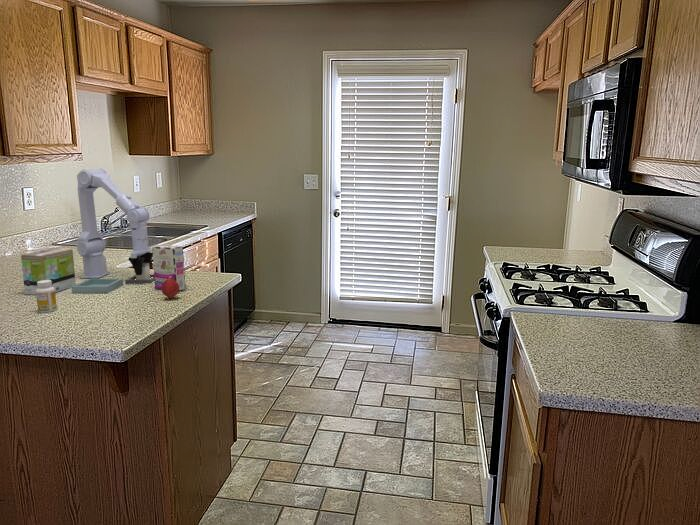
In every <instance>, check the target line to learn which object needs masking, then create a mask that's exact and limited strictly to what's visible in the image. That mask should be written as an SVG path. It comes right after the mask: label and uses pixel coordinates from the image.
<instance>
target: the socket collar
mask: <svg viewBox="0 0 700 525" xmlns="http://www.w3.org/2000/svg"><path fill="white" fill-rule="evenodd" d="M151 277H153V278H151ZM150 278H151V279H149V280H135V279H136V274H134V275H132V276H131V277H129V278H126V279H125V284H126V285H144V284H143V283H152V282H153V281H155V279H154V274H150ZM129 283H130V284H129ZM131 283H132V284H131ZM134 283H135V284H134ZM141 283H142V284H141ZM153 283H154V282H153ZM153 283H152V284H153Z"/></svg>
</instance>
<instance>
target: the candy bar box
mask: <svg viewBox="0 0 700 525" xmlns="http://www.w3.org/2000/svg"><path fill="white" fill-rule="evenodd" d="M151 250H152V251H151V253H153V257H152V262H153V275H154V279H155V282H154V289H155V290H156V289H158V291H162V285H163V283H164V282H165V281H166V280H167V279H168V278H169V277H170V276H172V279H173V280H175V281H176V282H177V283H178V285H179V292H178V293H180V292H182V291H186V288H187V287H186V274H185V273H186V272H185V257H184V247H183V246H182V245H181V246H180V245H179V246H178V245H169V244H168V245H167V244H159V245H153V246H152V247H151Z"/></svg>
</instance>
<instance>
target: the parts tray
mask: <svg viewBox="0 0 700 525" xmlns="http://www.w3.org/2000/svg"><path fill="white" fill-rule="evenodd" d="M122 286H124V280H123V278H87V279H86V280H84V281H81V282H79V283H76V285H74V286H72V287H71V288H70V289H71V294H109V293H111V292H113V291H114V290H116V289H119V288H120V287H122Z"/></svg>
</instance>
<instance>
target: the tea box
mask: <svg viewBox="0 0 700 525" xmlns="http://www.w3.org/2000/svg"><path fill="white" fill-rule="evenodd" d="M20 258H21V267H22V268H21V269H22V280H23V289H24V294H25V295H33V296H34V295H35V296H36V289H37V288H39V287H38V286H37V282H38V281H42V280H51V282H52V285H51V287H54V289H55V293H57V292H60V291H64V290H68V289H72V288H71V287H72V286H74V285H76V284H77V283H76V273H75V272H76V270H75V261H74V252H73V249H71V248H46V249H42V250H37V251H32V252H28V253H23V254H20Z"/></svg>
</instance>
